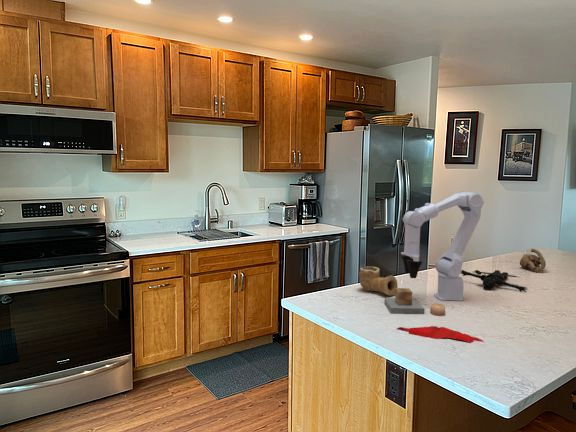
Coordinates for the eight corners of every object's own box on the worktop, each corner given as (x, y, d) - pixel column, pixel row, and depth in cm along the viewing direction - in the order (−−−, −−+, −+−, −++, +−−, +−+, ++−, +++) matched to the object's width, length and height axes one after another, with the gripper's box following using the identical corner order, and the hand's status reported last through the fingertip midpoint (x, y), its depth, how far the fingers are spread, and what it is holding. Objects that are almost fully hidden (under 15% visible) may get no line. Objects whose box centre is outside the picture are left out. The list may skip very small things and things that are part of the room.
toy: (470, 272, 219) (452, 281, 195) (473, 258, 217) (455, 266, 194) (533, 289, 202) (522, 302, 178) (536, 275, 200) (526, 285, 177)
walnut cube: (408, 301, 163) (408, 288, 162) (411, 305, 158) (412, 292, 157) (395, 300, 163) (395, 288, 162) (398, 305, 158) (398, 291, 157)
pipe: (387, 299, 172) (388, 274, 171) (354, 290, 183) (354, 267, 182) (398, 294, 178) (399, 271, 177) (366, 286, 190) (366, 264, 189)
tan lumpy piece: (522, 274, 233) (541, 275, 218) (510, 264, 233) (528, 264, 218) (535, 256, 235) (555, 256, 220) (523, 246, 235) (542, 245, 220)
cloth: (487, 338, 134) (488, 331, 134) (480, 353, 123) (481, 345, 123) (405, 321, 148) (406, 315, 148) (392, 334, 137) (392, 327, 137)
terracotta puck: (442, 311, 158) (442, 303, 157) (446, 316, 153) (447, 308, 152) (428, 311, 158) (428, 303, 157) (432, 315, 153) (432, 307, 152)
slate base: (415, 303, 166) (415, 298, 166) (424, 313, 154) (424, 308, 154) (384, 303, 166) (384, 298, 166) (390, 313, 155) (391, 307, 154)
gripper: (397, 238, 176) (396, 271, 177) (406, 244, 162) (404, 279, 163) (414, 238, 176) (413, 271, 177) (425, 245, 161) (423, 280, 163)
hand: (410, 275), depth 170 cm, fingers open, 7 cm apart
